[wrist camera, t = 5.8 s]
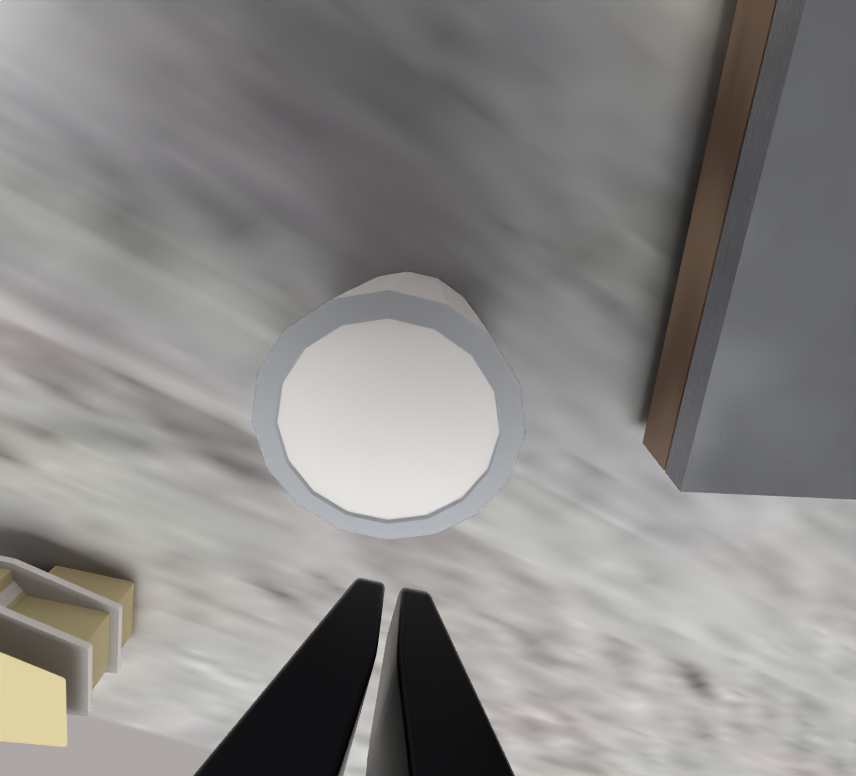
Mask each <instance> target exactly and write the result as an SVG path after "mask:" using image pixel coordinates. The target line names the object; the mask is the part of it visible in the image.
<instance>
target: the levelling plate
mask: <svg viewBox="0 0 856 776" xmlns="http://www.w3.org/2000/svg"><path fill="white" fill-rule="evenodd" d="M665 472H666V474H667V475H668V476H669V477H670V479H671V480H672V481H673V483H674V484H675V485H676V486H677V488H678V489H679V490H680V491H681V492H702V493H724V494H746V495H768V496H790V497H812V498H834V499H856V0H777V4H776V8H775V13H774V17H773V21H772V25H771V29H770V34H769V38H768V42H767V46H766V50H765V55H764V59H763V63H762V67H761V71H760V76H759V80H758V84H757V88H756V92H755V97H754V101H753V105H752V109H751V113H750V118H749V122H748V126H747V130H746V134H745V138H744V143H743V147H742V151H741V155H740V159H739V164H738V168H737V172H736V176H735V180H734V185H733V189H732V193H731V197H730V201H729V206H728V210H727V214H726V218H725V222H724V227H723V231H722V235H721V239H720V243H719V248H718V252H717V256H716V260H715V264H714V269H713V273H712V277H711V281H710V285H709V290H708V294H707V298H706V302H705V306H704V311H703V315H702V319H701V323H700V327H699V332H698V336H697V340H696V344H695V348H694V353H693V357H692V361H691V365H690V369H689V374H688V378H687V382H686V386H685V390H684V394H683V399H682V403H681V407H680V411H679V415H678V420H677V424H676V428H675V432H674V436H673V441H672V445H671V449H670V453H669V457H668V462H667V466H666V470H665Z"/></svg>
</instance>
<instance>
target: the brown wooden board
mask: <svg viewBox="0 0 856 776" xmlns="http://www.w3.org/2000/svg"><path fill="white" fill-rule="evenodd" d="M776 4H777V0H738V1H737V6H736V11H735V15H734V20H733V25H732V29H731V34H730V39H729V43H728V48H727V53H726V57H725V62H724V67H723V71H722V76H721V81H720V85H719V90H718V95H717V99H716V104H715V109H714V113H713V118H712V122H711V127H710V132H709V136H708V141H707V146H706V150H705V155H704V160H703V164H702V169H701V174H700V178H699V183H698V188H697V192H696V197H695V202H694V206H693V211H692V216H691V220H690V225H689V230H688V234H687V239H686V244H685V248H684V253H683V258H682V262H681V267H680V271H679V276H678V281H677V285H676V290H675V295H674V299H673V304H672V309H671V313H670V318H669V323H668V327H667V332H666V337H665V341H664V346H663V351H662V355H661V360H660V365H659V369H658V374H657V379H656V383H655V388H654V393H653V397H652V402H651V407H650V411H649V416H648V420H647V425H646V430H645V434H644V439H643V444H644V445H645V446H646V448H647V449H648V450H649V452H650V453H651V454H652V456H653V457H654V458H655V459H656V461H657V462H658V463H659V465H660V466H661V467H662V468H663V470H666V466H667V462H668V457H669V453H670V449H671V445H672V441H673V436H674V432H675V428H676V424H677V420H678V415H679V411H680V407H681V403H682V399H683V394H684V390H685V386H686V382H687V378H688V374H689V369H690V365H691V361H692V357H693V353H694V348H695V344H696V340H697V336H698V332H699V327H700V323H701V319H702V315H703V311H704V306H705V302H706V298H707V294H708V290H709V285H710V281H711V277H712V273H713V269H714V264H715V260H716V256H717V252H718V248H719V243H720V239H721V235H722V231H723V227H724V222H725V218H726V214H727V210H728V206H729V201H730V197H731V193H732V189H733V185H734V180H735V176H736V172H737V168H738V164H739V159H740V155H741V151H742V147H743V143H744V138H745V134H746V130H747V126H748V122H749V118H750V113H751V109H752V105H753V101H754V97H755V92H756V88H757V84H758V80H759V76H760V71H761V67H762V63H763V59H764V55H765V50H766V46H767V42H768V38H769V34H770V29H771V25H772V21H773V17H774V13H775V8H776Z"/></svg>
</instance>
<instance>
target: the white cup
mask: <svg viewBox="0 0 856 776" xmlns="http://www.w3.org/2000/svg"><path fill="white" fill-rule="evenodd" d="M252 423H253V426H254V430H255V433H256V436H257V439H258V442H259V445H260V448H261V452H262V455H263V458H264V461H265V464H266V467H267V469H268V470H269V471H270V472H271V473H272V475H273V476H274V477H275V478H276V479H277V481H278V482H279V483H280V484H281V485H282V487H283V488H284V489H285V490H286V491H287V493H288V494H289V495H290V496H291V498H292V499H293V500H294V501H295V502H296V504H297V505H299V506H300V507H302V508H304V509H305V510H307V511H309V512H311V513H312V514H314V515H316V516H317V517H319V518H321V519H322V520H324V521H326V522H327V523H329V524H331V525H333V526H334V527H336V528H338V529H339V530H344V531H348V532H353V533H358V534H362V535H367V536H372V537H377V538H381V539H386V540H390V539H398V538H407V537H416V536H424V535H433V534H437V533H439V532H441V531H443V530H445V529H447V528H449V527H451V526H453V525H455V524H457V523H459V522H461V521H463V520H465V519H467V518H469V517H471V516H473V515H475V514H478V513H479V512H480V511H481V510H482V509H483V507H484V506H485V505H486V504H487V503H488V502H489V501H490V500H491V499H492V498H493V496H494V495H495V494H496V493H497V492H498V491H499V490H500V489H501V488H502V487H503V485H504V484H505V483H506V482H507V481H508V480H509V479H510V477H511V474H512V471H513V468H514V465H515V462H516V459H517V456H518V453H519V450H520V447H521V444H522V441H523V438H524V436H525V425H524V416H523V407H522V397H521V388H520V383H519V381H518V379H517V378H516V376H515V374H514V373H513V371H512V369H511V367H510V366H509V364H508V362H507V361H506V359H505V357H504V356H503V354H502V352H501V351H500V349H499V347H498V346H497V344H496V342H495V341H494V339H493V337H492V336H491V334H490V333H489V332H488V330H487V329H486V328H485V326H484V325H483V323H482V322H481V321H480V319H479V318H478V316H477V315H476V314H475V312H474V311H473V310H472V308H471V307H470V305H469V304H468V303H467V301H466V300H465V298H464V297H463V296H462V295H460V294H459V293H458V292H456V291H455V290H453V289H452V288H451V287H449V286H448V285H447V284H445V283H444V282H443V281H441V280H440V279H438V278H434V277H430V276H426V275H421V274H417V273H413V272H409V271H408V272H402V273H395V274H389V275H383V276H378V277H376V278H374V279H372V280H370V281H368V282H366V283H364V284H361V285H359V286H357V287H355V288H353V289H351V290H349V291H347V292H345V293H343V294H341V295H339V296H337V297H335V298H333V299H331V300H329V301H328V302H326V303H325V304H323V305H321V306H320V307H318V308H317V309H315V310H314V311H312V312H311V313H309V314H307V315H306V316H304V317H303V318H301V319H300V320H298V321H297V322H295V323H294V324H292V325H290V326H289V327H287V328H286V329H285V330H284V331H283V333H282V334H281V336H280V338H279V339H278V341H277V342H276V344H275V346H274V347H273V349H272V350H271V352H270V354H269V355H268V357H267V358H266V360H265V361H264V363H263V365H262V366H261V368H260V369H259V371H258V373H257V381H256V390H255V399H254V407H253V416H252Z"/></svg>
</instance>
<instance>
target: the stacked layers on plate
mask: <svg viewBox="0 0 856 776" xmlns="http://www.w3.org/2000/svg"><path fill="white" fill-rule="evenodd" d="M133 603H134V582H132V581H127V580H123V579H118V578H113V577H108V576H104V575H99V574H94V573H89V572H85V571H80V570H75V569H70V568H66V567H61V566H55V567H54V568H53V569H52V570H50V571H49V572H45V571H43V570H41V569H38V568H36V567H34V566H32V565H29V564H27V563H25V562H22V561H20V560H18V559H14V558H9V557H5V556H0V741H8V742H18V743H28V744H40V745H50V746H60V747H65V746H67V718H66V717H67V716H66V714H70V715H80V716H87V715H88V713H89V712H90V711H91V709H92V690H93V688H94V687H95V685H96V684H97V683H98V681H99V680H100V678H101V677H102V675H103V674H104V673H105V672H109V673H116V672H117V671H118V669H119V668H120V666H121V648H122V647H123V646H124V644H125V643H126V641H127V640H128V638H129V637H130V636H131V634H132V626H133Z"/></svg>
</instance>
